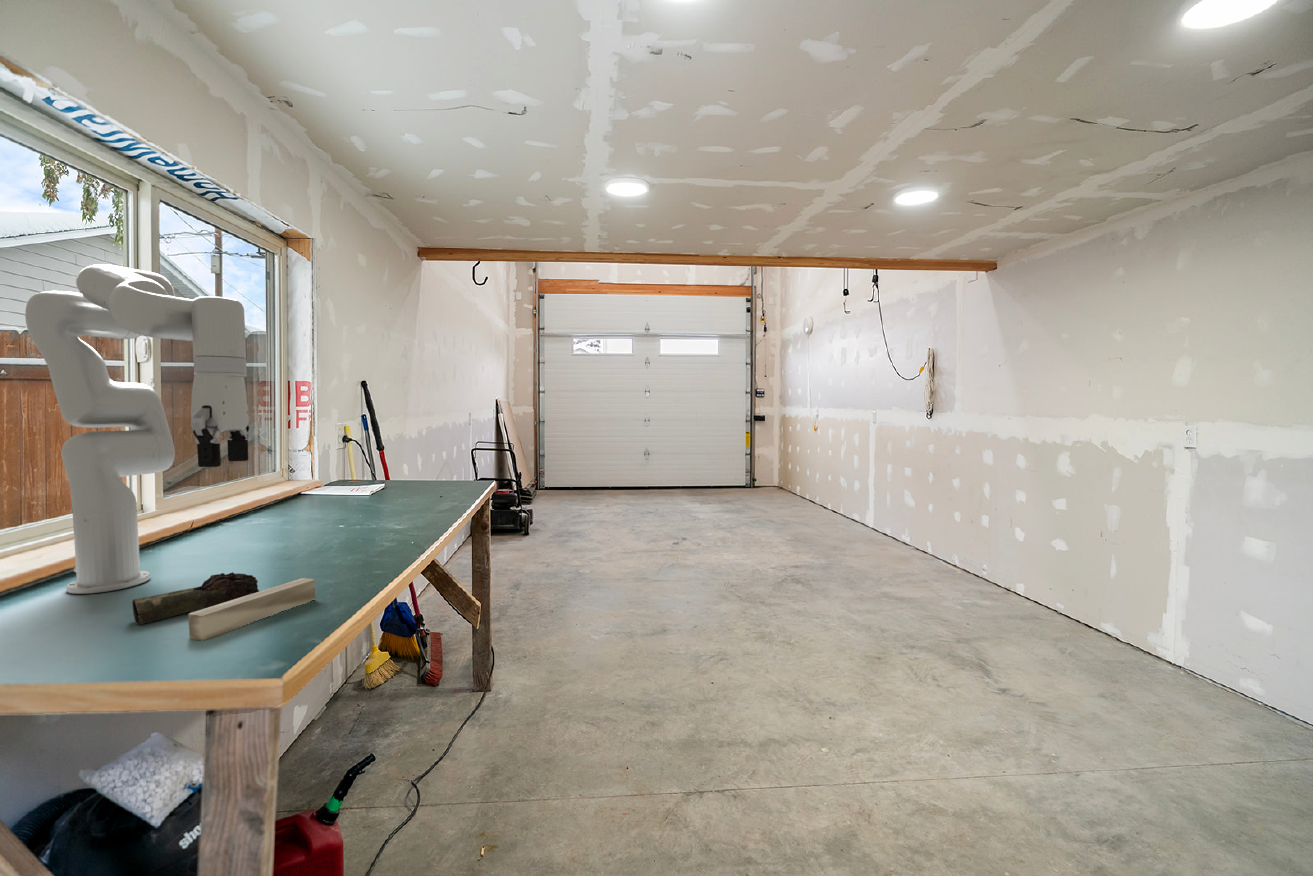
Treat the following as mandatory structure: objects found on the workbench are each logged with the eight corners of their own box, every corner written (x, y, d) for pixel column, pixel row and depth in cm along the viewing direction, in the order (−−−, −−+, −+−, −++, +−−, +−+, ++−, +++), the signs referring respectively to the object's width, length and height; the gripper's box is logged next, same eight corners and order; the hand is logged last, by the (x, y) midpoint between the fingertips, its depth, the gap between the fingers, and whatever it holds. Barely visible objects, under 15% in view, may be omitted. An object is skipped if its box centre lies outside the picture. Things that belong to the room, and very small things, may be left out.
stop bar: (189, 638, 92) (188, 613, 92) (303, 598, 111) (303, 577, 111) (202, 641, 91) (201, 616, 91) (315, 600, 110) (314, 579, 110)
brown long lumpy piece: (138, 629, 97) (135, 596, 97) (131, 620, 101) (129, 588, 101) (261, 601, 110) (260, 571, 110) (251, 594, 115) (249, 565, 114)
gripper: (222, 370, 111) (226, 459, 113) (166, 364, 95) (171, 469, 96) (266, 370, 113) (269, 458, 114) (218, 365, 96) (222, 468, 97)
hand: (224, 463), depth 105 cm, fingers open, 9 cm apart
